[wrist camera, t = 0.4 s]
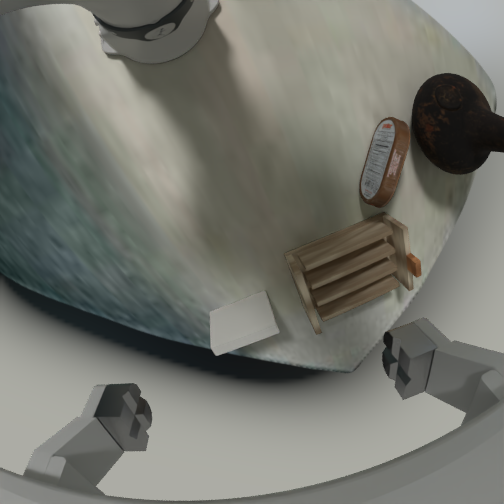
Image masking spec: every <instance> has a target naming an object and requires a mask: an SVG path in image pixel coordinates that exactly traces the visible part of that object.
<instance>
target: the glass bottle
mask: <svg viewBox="0 0 504 504" xmlns="http://www.w3.org/2000/svg"><path fill="white" fill-rule="evenodd" d="M412 122H413V129H414V133H415V136H416V139H417V142H418V144H419V146H420V148H421V149H422V151H423V152H424V154H425V155H426V157H427V158H428V159H429V160H430V161H431V162H432V163H433V164H434V165H435V166H437V167H438V168H440V169H441V170H443V171H445V172H448V173H451V174H467V173H470V172H473V171H475V170H476V169H478V168H479V167H480V166H481V165H482V164H483V163H484V162H485V161H486V159H487V158H488V156H489V154H490V152H491V151H495V152H504V117H502V116H499V115H497V114H495V113H493V112H492V111H491V108H490V106H489V104H488V101H487V99H486V98H485V96H484V95H483V93H482V92H481V91H480V89H479V88H478V87H477V86H476V85H475V84H473V83H472V82H471V81H469V80H468V79H466V78H464V77H462V76H460V75H456V74H451V73H444V74H438V75H435V76H433V77H431V78H429V79H428V80H427V81H425V82H424V83H423V85H422V86H421V87H420V89H419V90H418V92H417V95H416V97H415V100H414V104H413V109H412Z"/></svg>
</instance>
